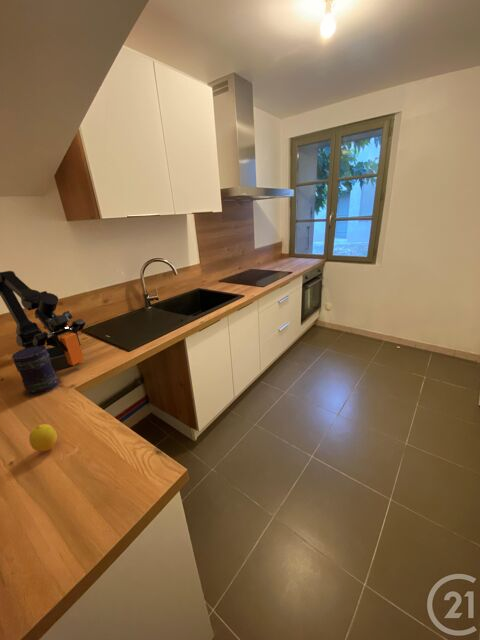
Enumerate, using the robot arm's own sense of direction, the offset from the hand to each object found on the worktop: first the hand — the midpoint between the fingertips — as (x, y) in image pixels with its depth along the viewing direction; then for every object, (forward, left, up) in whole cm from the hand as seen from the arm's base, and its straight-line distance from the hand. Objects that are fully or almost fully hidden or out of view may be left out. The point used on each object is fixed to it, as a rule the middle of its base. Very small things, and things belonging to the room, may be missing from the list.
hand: (73, 348), depth 104 cm
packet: (-1, -1, -7) cm, 7 cm away
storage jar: (+6, -13, -10) cm, 17 cm away
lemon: (+42, -11, -10) cm, 45 cm away
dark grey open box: (-13, -7, -10) cm, 17 cm away
